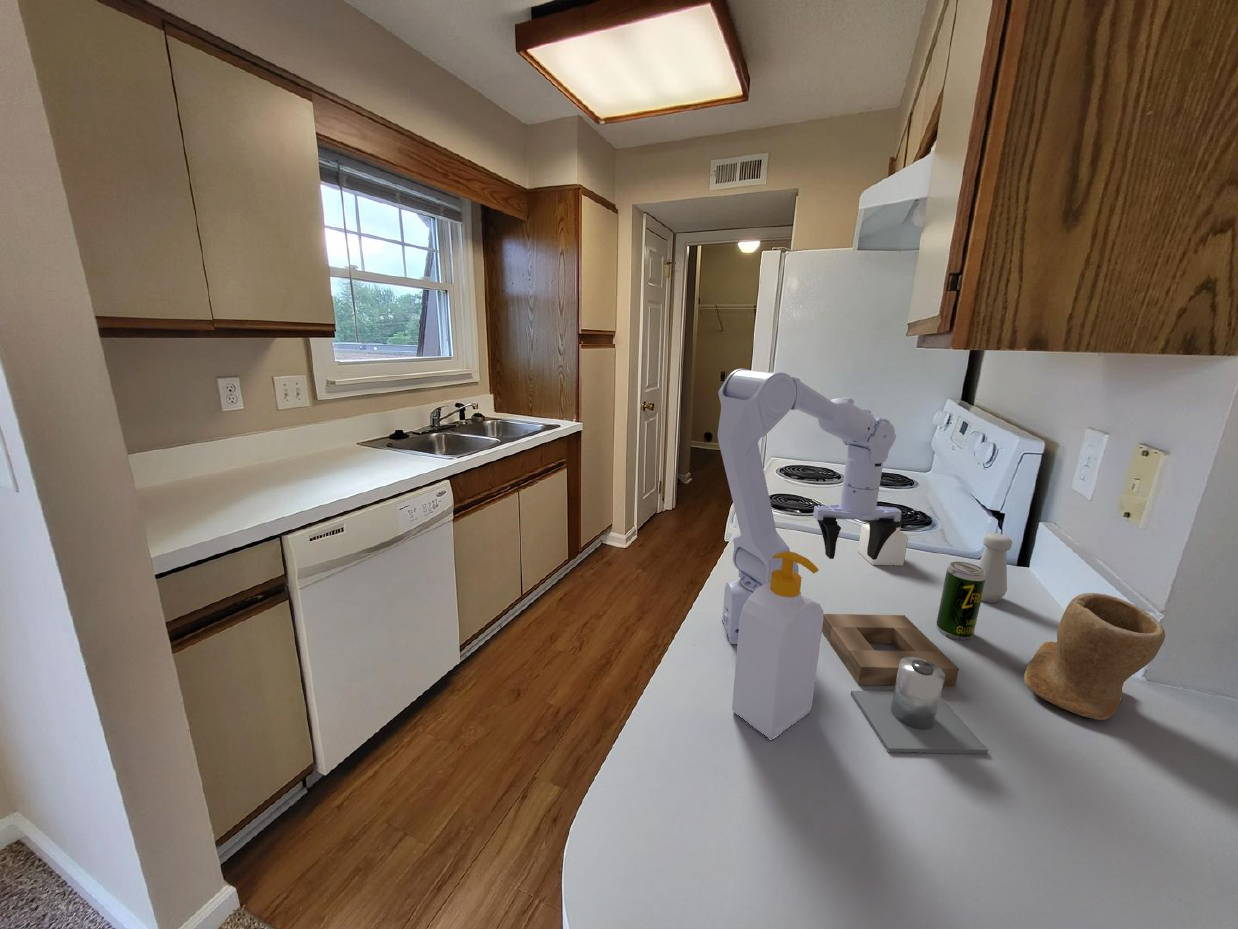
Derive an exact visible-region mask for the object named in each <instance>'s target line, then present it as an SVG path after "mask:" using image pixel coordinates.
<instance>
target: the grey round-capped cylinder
mask: <svg viewBox="0 0 1238 929" xmlns="http://www.w3.org/2000/svg"><path fill="white" fill-rule="evenodd" d="M944 680H945V674H944V672H943V671H942V670H941V669H940V668H939V667H938V666H936V665H935V664H933V663H931V662H929V661H927V660H924V659H921V658H917V657H904V658H902V659H901V660H900V664H899V669H898V673H897V678H896V683H895V686H894V689H893V691H894V693H893V697H892V702H891V712H892V714H893V715H894V716H895V717H896V718H897V719H898V720H899V721H901V722H902V723H904V724H905V725H907V726H910V727H912V728H916V729H921V730H927V729H930V728H932V727H933V726H934V722H935V718H936V714H937V710H938V706H939V701H940V697H941V698H942V693H943V690H944V689H943V688H944V686H943V685H944Z"/></svg>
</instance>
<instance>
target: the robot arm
mask: <svg viewBox="0 0 1238 929" xmlns="http://www.w3.org/2000/svg"><path fill="white" fill-rule="evenodd" d="M717 394H718V397H719V402H720V406H721V407H720V413H719V414H720V415H719V423H718V428H717V429H718V430H717V441H718V446H719V449H720V455H721V458H722V462H723V466H724V469H725V470H724V471H725V474H726V478H727V482H728V487H729V491H730V495H731V500H732V504H733V508H734V511H735V515H736V520H737V524H738V529H739V532H738V533H737V534H736V535H735V536H734V537H733V538H732V542H733V554H732V564H733V565H734V567H735V568H736V569H737V570H738V577H739V579H738V580H734V581H729V582H726V583H725V586H724V595H723V607H722V615H721V620H723V621H722V624H723V623H724V624H723V626H724V629H725V632H726V634H728V635H727V638H728V641H729V642H730V644H732V645H737V643H738V632H739V620H740V616H741V612H742V609H743V607H744V605H745V603H746V601H747V599H748V598H749V597H750V596H751V594H752V593H753V592H754V591H755V590H756V589H758V588H759V587H761V586H762V585H764V584H767V583H771V574H772V572H773V571H774V570H781V569H782V560H783V558H775V559H773V556H774V555H776V554H779V553H781V552H785V551H790V552H791V549H790V547H789V546H788V544H787V543H786V541H785V540H784V539H783V538H782V537H781V535H780V534H779V533H778V531H777V529H776V528H777V527H776V523H775V519H774V514H773V510H772V504H771V500H770V498H771V497H770V495H769V490H768V489H769V488H768V484H767V480H766V479H767V478H766V475H765V470H764V466H763V461H762V456H761V451H760V445H759V441H760V440H761V438H763V437H765V436H766V435H768V434H769V432H771V430H773V428H775V427H776V425H777V424H778V423H779V422H781V420H783V419H784V417H785V416H786V415H787V414H788V413H789V412H790V411H796V410H798V411H800V412H801V413H805V414H807V415H809V416H811V417H813V418H816V419H817V423H818V426H819V428H820V429H821V430H823V431H825V432H826V433H828V434H830V435H832V436H834V437H836V438H837V439H840V440H841V442H842V444H844V445H845V446H847V450H846V458H845V466H844V474H843V481H842V488H841V489H842V490H841V495H840V496H841V497H840V502H839V503H838V504H829V505H822V506H821V505H820V506H819V505H815V506H814V507H813V514H812V516H813V518H814V519H816V521H817V523H818V526H819V528H820V530H821V534H822V539H823V542H824V552H825V556H826V557H827V558H828V559H829V560H833V559H835V555H836V549H837V541H838V538H839V535H840V531H841V530H842V527H841V525H839V524H838V521H837V520H860V521H861V520H862V521H868V522H869V523H868V524H869V526H870V533H869V542H868V548H867V555H868V556H869V557H870V558H872V559H873V560H876V559H877V557H878V555H879V553H880V551H881V549H882V547H883V545H884V544H885V542H886V541H887V539H888V538H889V537H890V536H891V535H892V534H893V533H894V532H895V531H896V528H897V525H896V524H895V523H893V521H898V522H900V518H901V513H902V512H903V511H902V510H900V509H899V508H897V507H892V506H891V507H889V506H878V499H879V491H880V486H881V479H882V472H883V466H884V463H885V462H886V461H887V459H888V457H889V451H890V450H891V448H892V447H893V445H894V443H895V441H896V438H897V434H896V433H895V431H896V430H895V427H894V425H893V424H892V423H891V422H890V420H889V419H887V418H883V417H877V416H876V417H875V416H873V414H872V410H870V409H868V408H861V407H858V406H857V405H855V404H854V403H855V400H854V399H853V398H851V397H847V396H846V397H844V396H843V397H841V398H839V397H837V398H833V399H829V398H827V397H825V395H823V394H821V393H819V392H818V391H816V390H815V389H813V388H812V387H810V386H809V385H807V384H805V383H804V382H802V381H801V380H800V378H797V377H795V376H791V375H790V374H788V373H786V372H784V371H783V372H782V371H781V372H779V371H776V372H770V371H759V370H752V369H751V370H749V369H747V368H738V369H735V370H734V371H732V372H731V373H729V375H728V376H727V377H726V378H725V380H724V382H723V384H722V385H721V387H720V389H719V390H718V392H717ZM793 572H796V573H797V574H799V563H796V562H793Z"/></svg>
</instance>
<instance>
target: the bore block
mask: <svg viewBox="0 0 1238 929" xmlns="http://www.w3.org/2000/svg"><path fill="white" fill-rule="evenodd" d="M822 632H823V633H822V634H823V636H824V637H825V638H827V639H826V640H827V642H828V643H829V644H830V645H831V647H832V649H833V650H834V652H835V653H836V654H837V656H838V657H839V659H840V661H841V662H842V663H843V665H844V667H845V668H846V669H847V671H848V672H849V674H850V675H851V677H852V678H853V680H854V681H855V682H856V684H857V685H858V686H894V687H895V683H896V678H897V673H898V669H899V664H900V660H901V659H902V658H904V657H917V658H921V659H924V660H927V661H929V662H931V663H933V664H935V665H936V666H938V667H939V668H940V669H941V670H942V671H943V672H944V674H945V680H944V685H943V687H956V685H957V680H958V675H959V672H960V671H959V670H960V668H959V667H958V666H957V665H956V664H955V663H954V662H953V661H952V660H951V659H950V658H949V657H948V656H947V655H946V654H945V653H943V652H942V650H940V649H939V647H938V646H937V645H936V644H934V642H933V641H932V640H930V639H929V637H927V636H926V635H925V633H923V631H922V630H920V629H919V627H917V626H916V625H915V624H914V623H913V622H912V621H911V620H910V619H909V618H908V617H907V616H906V615H904V614H857V613H856V614H852V613H850V614H848V613H846V614H843V613H823V626H822ZM871 644H873V645H891V646H892V647H893V648H894V649H895V650H875V649H874V648H873V646H872V645H871Z"/></svg>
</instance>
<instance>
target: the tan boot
mask: <svg viewBox="0 0 1238 929" xmlns="http://www.w3.org/2000/svg"><path fill="white" fill-rule="evenodd" d="M1165 638H1166V630H1165V629H1164V627H1163V626H1162V624H1161V623H1160V622H1159V621H1158V620H1157V618H1155V617H1154V616H1153V615H1151V614H1149V613H1148V612H1147V611H1146V610H1144V609H1142V608H1140V607H1138V606H1137V605H1135V604H1133V603H1131V602H1129V601H1127V600H1124V599H1123V598H1122V599H1121V598H1119V597H1116V596H1112V595H1109V594H1105V593H1097V592H1085V593H1080V594H1078V595H1077V596H1075V597H1073V598H1072V599H1071V601H1069V603H1068V605H1067V607H1066V608H1065V610H1064V612H1063V614H1062V617H1061V619H1060V622H1059V624H1058V626H1057V631H1056V641H1045V642H1043V643H1042V644H1041V645H1040V646H1039V648H1038V649H1037V650H1036V651H1035V653H1034V655H1033V657H1032V658H1031V660H1030V662H1028V665H1027V666H1026V669H1025V672H1024V674H1023V680H1024V684H1025V686H1026V687H1027V688H1028V689H1029V690H1030V691H1032V693H1034V694H1035V695H1036V696H1037V697H1039V698H1041V699H1043V700H1045V701H1047V702H1048V703H1051V704H1052V705H1053V706H1056V707H1059V708H1060V709H1063V710H1065V711H1067V712H1071V713H1073V714H1076V715H1079V716H1082V717H1085V718H1090V719H1094V720H1095V721H1106V720H1108V719H1110V718H1112V716H1114V714H1116V713H1117V711H1118V709H1119V707H1120V705H1121V700H1122V695H1123V687H1124V683H1125V682H1126V681H1127V680H1128V679H1130V678H1131V677H1132V676H1133V675H1135V674H1136V673H1138V672H1140V670H1142V669H1143V668H1145V667H1146V666H1147V665H1149V664H1150V663H1151V662H1152V661H1153V660H1154V659H1155V657H1156V656H1157V655H1158V653H1159V651H1160V649H1161V647H1162V646H1163V645H1164V641H1165Z"/></svg>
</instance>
